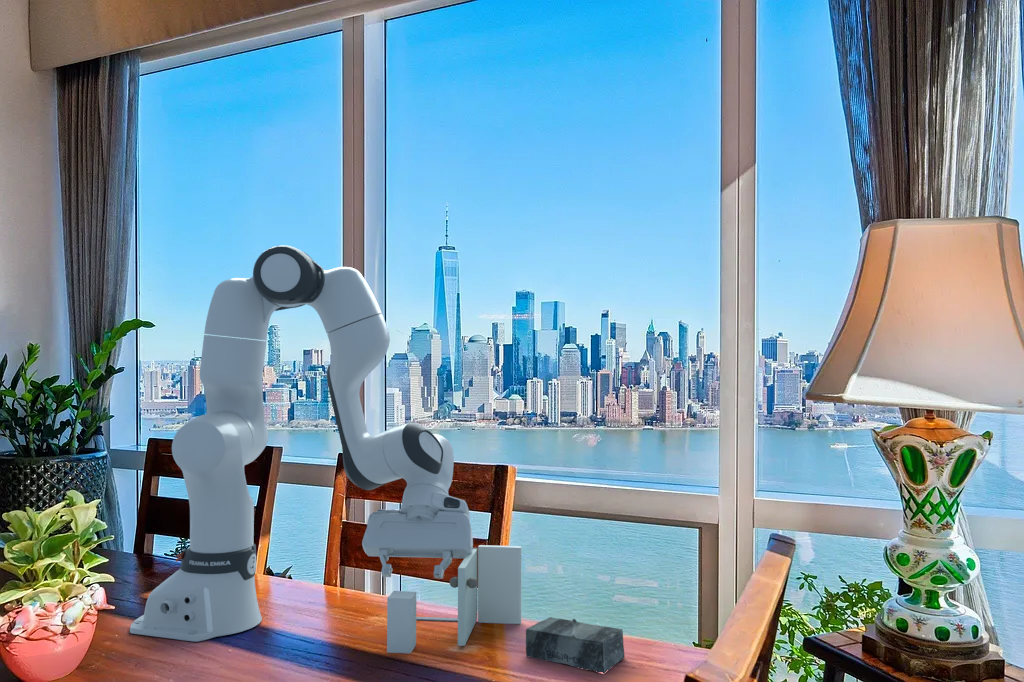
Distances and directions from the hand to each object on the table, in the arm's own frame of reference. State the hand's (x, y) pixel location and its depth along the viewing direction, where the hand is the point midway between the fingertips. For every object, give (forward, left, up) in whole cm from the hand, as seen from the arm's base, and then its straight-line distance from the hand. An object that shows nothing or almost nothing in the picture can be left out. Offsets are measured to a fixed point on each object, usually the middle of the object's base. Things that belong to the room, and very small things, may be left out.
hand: (411, 576), depth 137 cm
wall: (+7, +9, -10) cm, 15 cm away
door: (+10, +2, -10) cm, 14 cm away
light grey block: (0, -6, -10) cm, 12 cm away
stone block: (+29, -7, -11) cm, 32 cm away
